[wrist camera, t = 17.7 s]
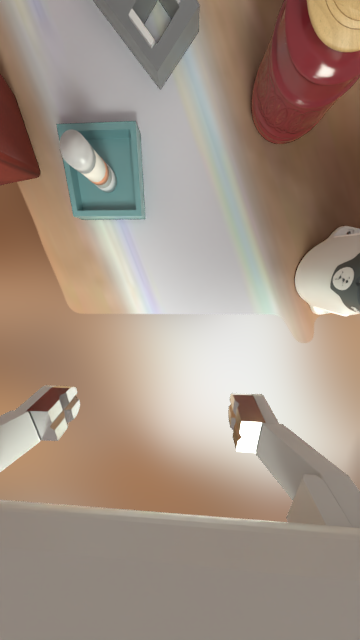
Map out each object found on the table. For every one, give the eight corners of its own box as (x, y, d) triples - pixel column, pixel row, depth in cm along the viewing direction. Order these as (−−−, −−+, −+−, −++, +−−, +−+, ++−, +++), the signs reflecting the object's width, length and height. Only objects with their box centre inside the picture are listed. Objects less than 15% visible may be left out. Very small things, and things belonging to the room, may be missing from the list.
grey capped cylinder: (115, 166, 33) (85, 128, 23) (118, 192, 34) (90, 166, 25) (94, 167, 33) (56, 130, 23) (98, 192, 34) (63, 167, 25)
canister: (264, 32, 26) (391, -352, 10) (344, 49, 26) (604, -304, 10) (239, 139, 31) (297, 0, 14) (308, 153, 31) (445, 31, 14)
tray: (140, 133, 31) (135, 121, 28) (145, 219, 36) (141, 215, 33) (68, 135, 32) (56, 124, 29) (82, 219, 37) (73, 216, 34)
